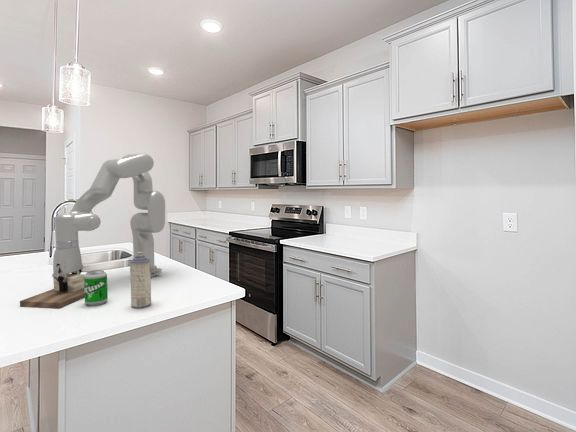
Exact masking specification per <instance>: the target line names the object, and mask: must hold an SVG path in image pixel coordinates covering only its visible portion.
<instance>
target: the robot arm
mask: <svg viewBox="0 0 576 432" xmlns="http://www.w3.org/2000/svg"><path fill="white" fill-rule="evenodd" d="M154 163H155V162H154V159H153V157H152V156H151V155H150V154H148V153H130V154H126V155H123V156H122V157H121V158H118V159H117V158H115V159H113V158H112V159H107V160H105V161H104V162H103V163H102V165H101V167H100V169H99V171H98V172H97V174H96V176H95V178H94V180H93V182H92V184H91V186H90V187H89V189H87V190H86V191H85V192H84V193H83V194H82V195H81V196H80V197H79V198H78V199H77V200H76V202H75V203H74V205H72V208H71V210H70V212H69V213H62V214H57V215H55V217H54V230H55V250H54V252H53V259H52V260H53V261H52V263H53V264H52V268H53V269H52V271H53V272H52V275H51V277H52V278H53V277H54V278H55V279H56V280H57V282H59V291H60V292H67V291H68V286H67V282H66V278H67V274H81V273H82V271H83V269H84V268H85V266H84V265H83V263H82V253H81V249H80V247H79V246H80V245H79V244H80V243H79V242H80V241H79V232H81V231H82V232H83V231H84V232H90V231H91V232H93V231H94V230H97V229H98V228H99V227H100V226H101V222H102V220H101V217H100V216H99V215H97V214H95V213H93V212H91V211H92V210H93V209H94V208H95V207H96V206H97V205H99V204H100V203H102V202H104V201H106V200H108V199H109V198H111V197H112V194H113V193H114V192H115V189H116V187H117V184H118V183H119V181H120V179H129V178H132V182H133V183H132V184H133V206H134V207H135V208H136V209H138V210H142V211H141V212H137V213H135V214H133V215H132V216H131V217H130V224H129V225H130V230H131V234H132V248H133V250H132V253H133V258H134V257H135V256H136V255H137V252H142V254H143V255H144V256H145V257H147V259H149V260H150V276H151V278H153V277H157V276H158V275H159V274H161V273H162V268H157V267H158V266H157V265H155V239H154V235H153V234H157V233H160V232H162V231H163V230H164V228H165V224H166V199H165V196H164V195H163V193H162V192H160V191H158V190H153V189H154V188H153V179H152V176H151V174H150V171H152V169H153V167H154ZM143 210H144V211H147V212H143ZM62 275H63V278H62Z"/></svg>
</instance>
